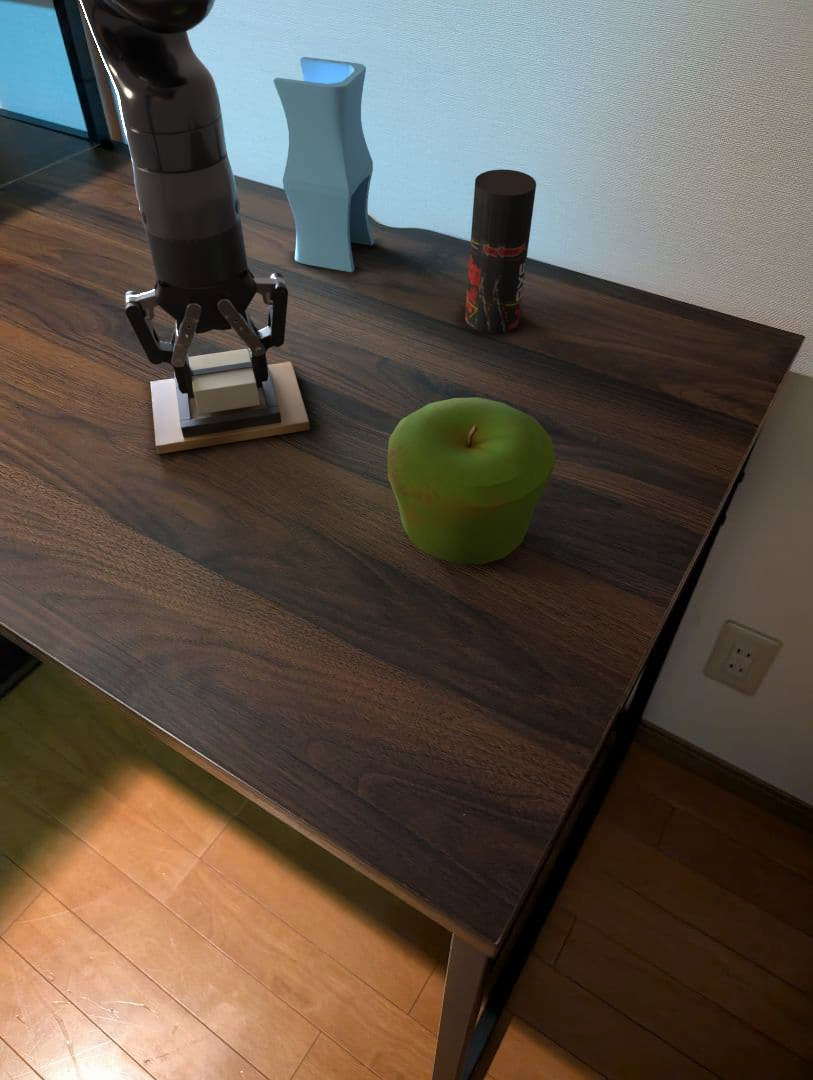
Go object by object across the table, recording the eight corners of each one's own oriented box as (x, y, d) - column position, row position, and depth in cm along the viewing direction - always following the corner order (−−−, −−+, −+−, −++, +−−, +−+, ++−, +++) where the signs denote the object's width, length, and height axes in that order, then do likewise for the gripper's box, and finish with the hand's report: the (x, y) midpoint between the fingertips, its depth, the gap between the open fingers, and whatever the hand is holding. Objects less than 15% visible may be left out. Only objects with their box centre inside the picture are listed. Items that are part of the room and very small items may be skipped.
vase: (316, 232, 101) (302, 56, 87) (374, 242, 100) (370, 64, 85) (291, 261, 96) (272, 79, 81) (352, 272, 95) (343, 88, 80)
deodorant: (516, 336, 86) (534, 198, 75) (461, 330, 86) (471, 192, 75) (520, 307, 90) (538, 172, 79) (468, 301, 90) (478, 167, 79)
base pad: (158, 454, 72) (152, 435, 71) (152, 389, 79) (147, 371, 77) (310, 430, 75) (308, 411, 73) (292, 369, 81) (290, 351, 80)
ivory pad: (198, 414, 73) (193, 391, 71) (193, 379, 77) (188, 355, 75) (259, 405, 74) (255, 381, 72) (251, 370, 78) (247, 347, 76)
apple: (530, 480, 70) (548, 374, 62) (547, 587, 62) (570, 481, 54) (389, 479, 70) (388, 373, 62) (387, 586, 62) (385, 480, 54)
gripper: (274, 183, 66) (293, 355, 79) (96, 202, 64) (145, 376, 76) (289, 224, 61) (307, 400, 74) (96, 246, 59) (148, 425, 71)
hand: (224, 387), depth 75 cm, fingers closed on ivory pad, 5 cm apart
